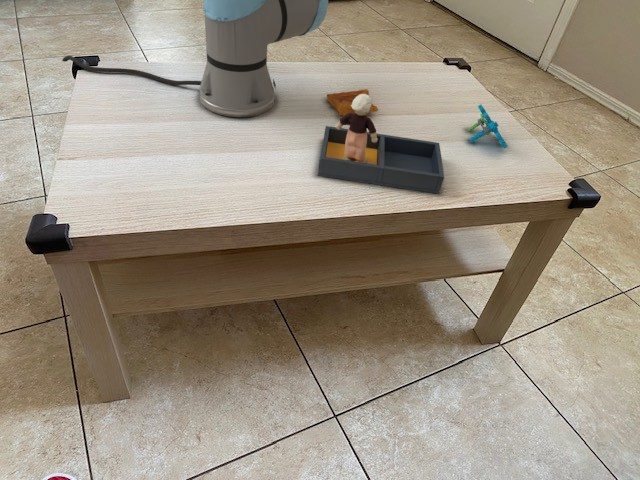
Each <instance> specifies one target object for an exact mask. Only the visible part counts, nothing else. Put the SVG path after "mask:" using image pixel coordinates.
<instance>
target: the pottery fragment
mask: <svg viewBox="0 0 640 480" xmlns="http://www.w3.org/2000/svg"><path fill="white" fill-rule="evenodd" d="M360 94H366V95H369V96H370V93H369V89H367V88H364V89H359V90H350V91H342V92H333V93H327V94H326V100H327V101H328V103H329V104H330V105H331V106H332V107H333V108H334V109H335V110H336V111H337V112H338V116H344V115H346V114H348V113H356V112H355V110H353V109H352V106H351V105H352V102H353V100H354V99H355V98H356V97H357V96H358V95H360ZM378 111H379V107H378V106H377V105H374V104H373V103H372V105H371V108H370V110H369V112H368V113H373V112H374V113H375V112H378ZM368 113H367V114H368ZM356 114H357V113H356Z"/></svg>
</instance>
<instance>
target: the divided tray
mask: <svg viewBox="0 0 640 480" xmlns="http://www.w3.org/2000/svg"><path fill="white" fill-rule="evenodd" d="M348 129H349V128H345V127H344V128H343V127H341V129H339V130H338V129H337V128H336V126H332V125H331V126H329V125H326V126H325V128H324V133H323V139H322V144H321V149H320V150H321V151H320V156H319V161H318V162H319V163H318V170H317V176H318V177H323V178H324V177H325V178H330V179H338V180H343V181H350V182H357V183H363V184H371V185H377V186H384V187H390V188H397V189H405V190H411V191H418V192H424V193H430V194H431V193H432V194H437V195H438V194H440V191H441V188H442V186H443V182H444V180H445V172H444V165H443V158H442V152H441V146H440V145H441V144H440V142H435V141H431V140H423V139H417V138H410V137H403V136H396V135H390V134H382V133H377V132H376V134H377V139H378V140H377V142H376V143H373V142H372V138H371V135H370V133H369V131H367V144H366V152H365V158H366V159H367V163H363V162H356V159H355V158H354V159H353V160H352V161H349V160H343V157H344V152H345V141H346V137H347V132H348Z"/></svg>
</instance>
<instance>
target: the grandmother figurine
mask: <svg viewBox="0 0 640 480" xmlns="http://www.w3.org/2000/svg"><path fill="white" fill-rule="evenodd" d="M372 99H373V98H371V96H370V94H369V95H366V94H360V95H358V96H357V97H356V98H355V99H354V100H353V102H352V105H351V106H352V109H353V110H355V112H356V113H357V114H356V113H348V114H346V115H342V116H341V117H340V118H338V122H337V123H336V125H335V127H336V128H337V129H338V130H339V129H341V128H343V127H344V126H349V127H348V128H347V129H348V132H347V137H346V141H345V152H344V157H343V160H349V161H352V160H353V159H354V158H355V159H356V162H363V163H367V159H366V158H365V152H366V144H367V132H369V133H370V135H371V138H372V142H373V143H376V142H377V140H378V139H377V134H378V133H377V129H376V126H375V124H374V122H373V120H372V119H371V118H370V117H369V116H367V115H368V112H369V110H370V108H371V105H372V104H373V100H372ZM369 113H370V112H369ZM376 133H377V134H376Z"/></svg>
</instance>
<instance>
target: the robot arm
mask: <svg viewBox="0 0 640 480" xmlns="http://www.w3.org/2000/svg"><path fill="white" fill-rule="evenodd" d="M328 7H329V0H203V3H202V10H203V13H204V30H205V31H204V32H205V49H206V50H205V51H206V64H205V68H204V72H203V74H202V78H201V80H173V79H168V78H164V77H161V76H158V75H155V74H153V73H150V72H146V71H143V70H139V69H131V68H120V67H119V68H117V67H99V66H93V65H92V66H90V65H87V64H85V63H82V61H80V60H78V59H77V58H76V57H74V56H72V55H66V56H64V57H63V58H62V60H61V61H62V62H68V61H71V62H73V63H74V64H75V65H77V66H78V67H80V68H81V69H84V70H86V71H91V72H99V73H120V74H121V73H122V74H123V73H124V74H132V75H133V74H134V75H137V76H142V77H145V78H149V79H151V80H155V81H158V82H161V83H164V84H168V85H173V86H174V85H175V86H199V92H198V93H199V102H200V103H201V105H202V106H203V107H204V108H206V110H208V111H210V112H212V113H215V114H217V115H221V116H224V117H231V118H250V117H256V116H259V115H262V114H264V113H266V112H268V111H269V110H270V109H271V108H273V106H274V104H275V90H276V89H277V84H276V81H275V78H271V75H270V72H269V68H268V45H271V44H274V43H278V42H281V41H282V42H283V41H285V40H288V39H292V38H295V37H303V36H305V35H307V34H308V33H311V32H313V31H315V30H317V29H318V28H319V27H320V26H322V24H323V22H324V21H325V19H326V17H327V11H328V10H327V9H328Z"/></svg>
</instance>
